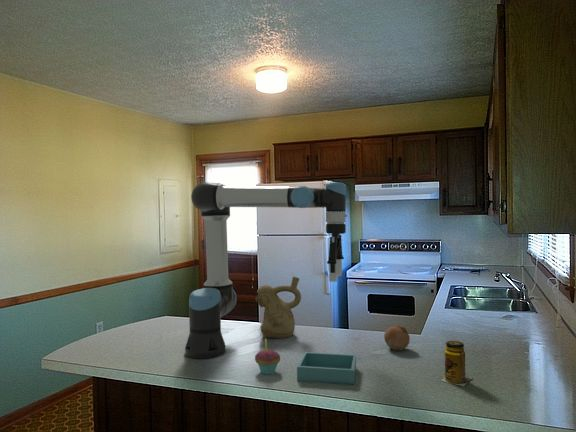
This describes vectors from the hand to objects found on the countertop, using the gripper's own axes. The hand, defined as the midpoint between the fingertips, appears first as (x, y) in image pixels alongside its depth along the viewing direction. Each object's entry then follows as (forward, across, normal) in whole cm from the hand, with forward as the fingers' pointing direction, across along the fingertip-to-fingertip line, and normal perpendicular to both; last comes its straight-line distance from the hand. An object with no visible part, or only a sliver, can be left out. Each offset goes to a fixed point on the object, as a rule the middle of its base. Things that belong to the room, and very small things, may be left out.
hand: (335, 278), depth 173 cm
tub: (+27, -26, -1) cm, 38 cm away
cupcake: (+28, -28, +19) cm, 44 cm away
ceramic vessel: (+28, +14, +27) cm, 41 cm away
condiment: (+27, -21, -41) cm, 54 cm away
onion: (+27, +6, -23) cm, 36 cm away
